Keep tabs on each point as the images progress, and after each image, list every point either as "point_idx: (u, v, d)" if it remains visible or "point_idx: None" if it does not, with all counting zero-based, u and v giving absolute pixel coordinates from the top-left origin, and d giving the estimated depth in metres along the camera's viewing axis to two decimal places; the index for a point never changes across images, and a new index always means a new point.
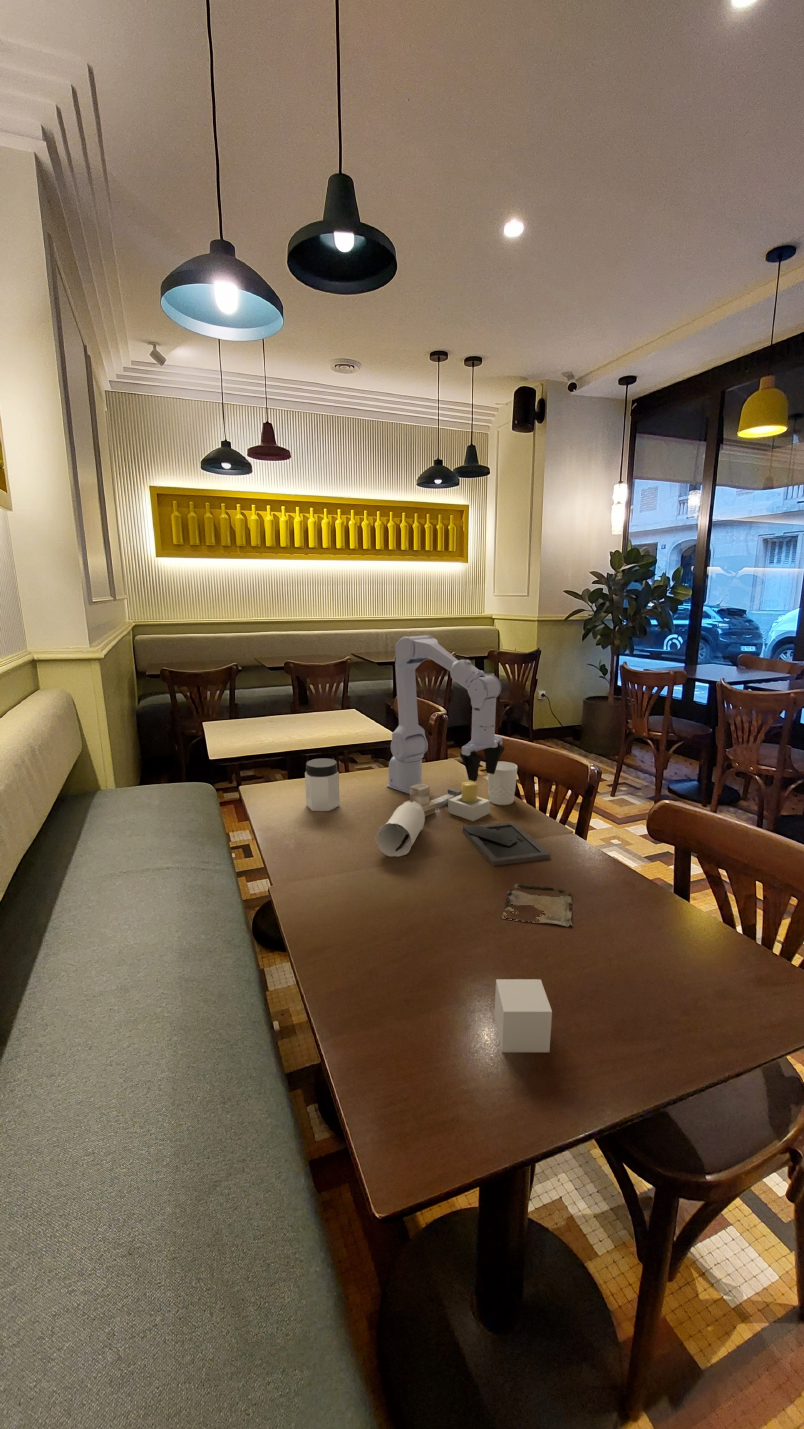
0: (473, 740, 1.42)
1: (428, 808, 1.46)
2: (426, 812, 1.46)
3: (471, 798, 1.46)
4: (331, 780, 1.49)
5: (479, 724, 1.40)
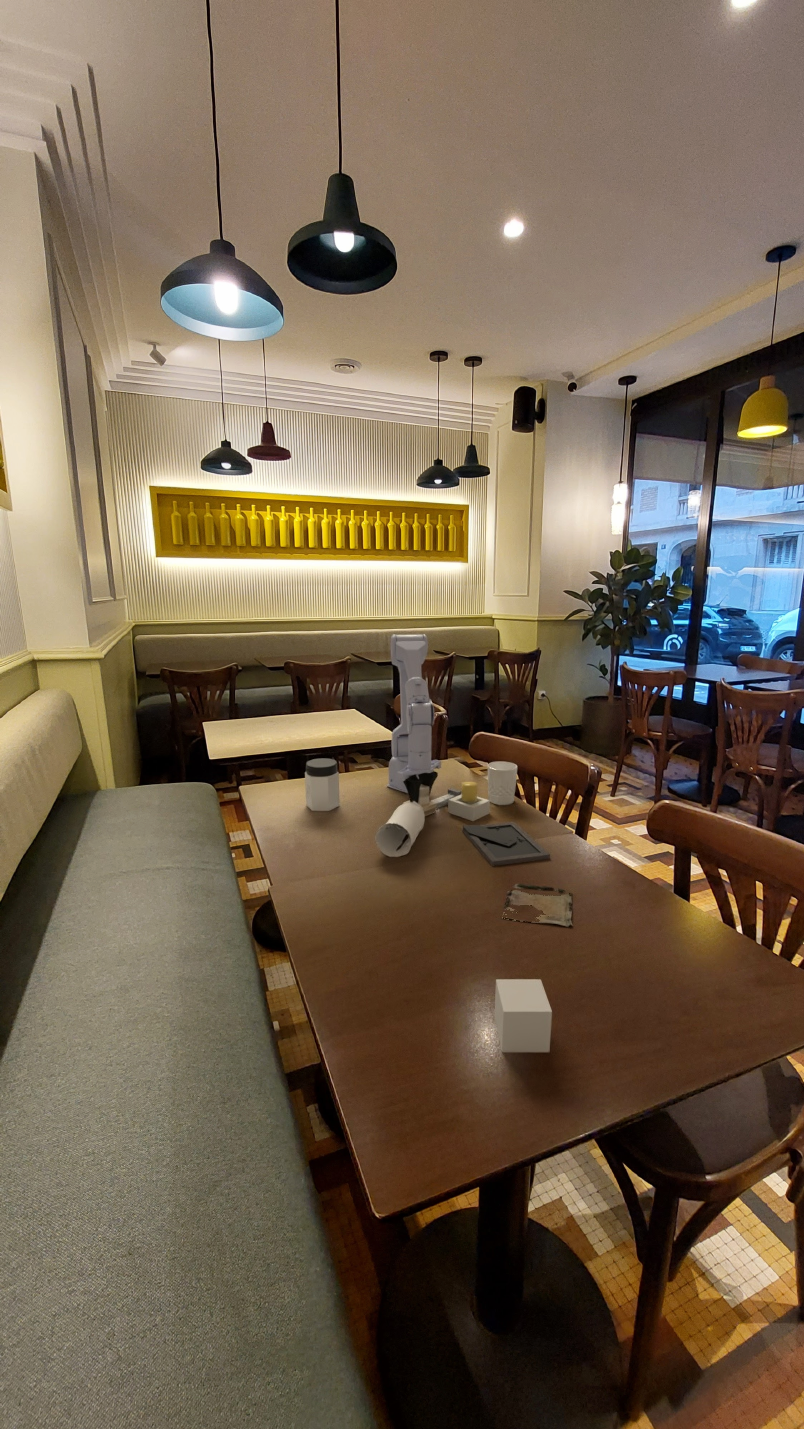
0: (410, 765, 1.44)
1: (428, 808, 1.46)
2: (426, 812, 1.46)
3: (471, 798, 1.46)
4: (331, 780, 1.49)
5: (409, 748, 1.43)
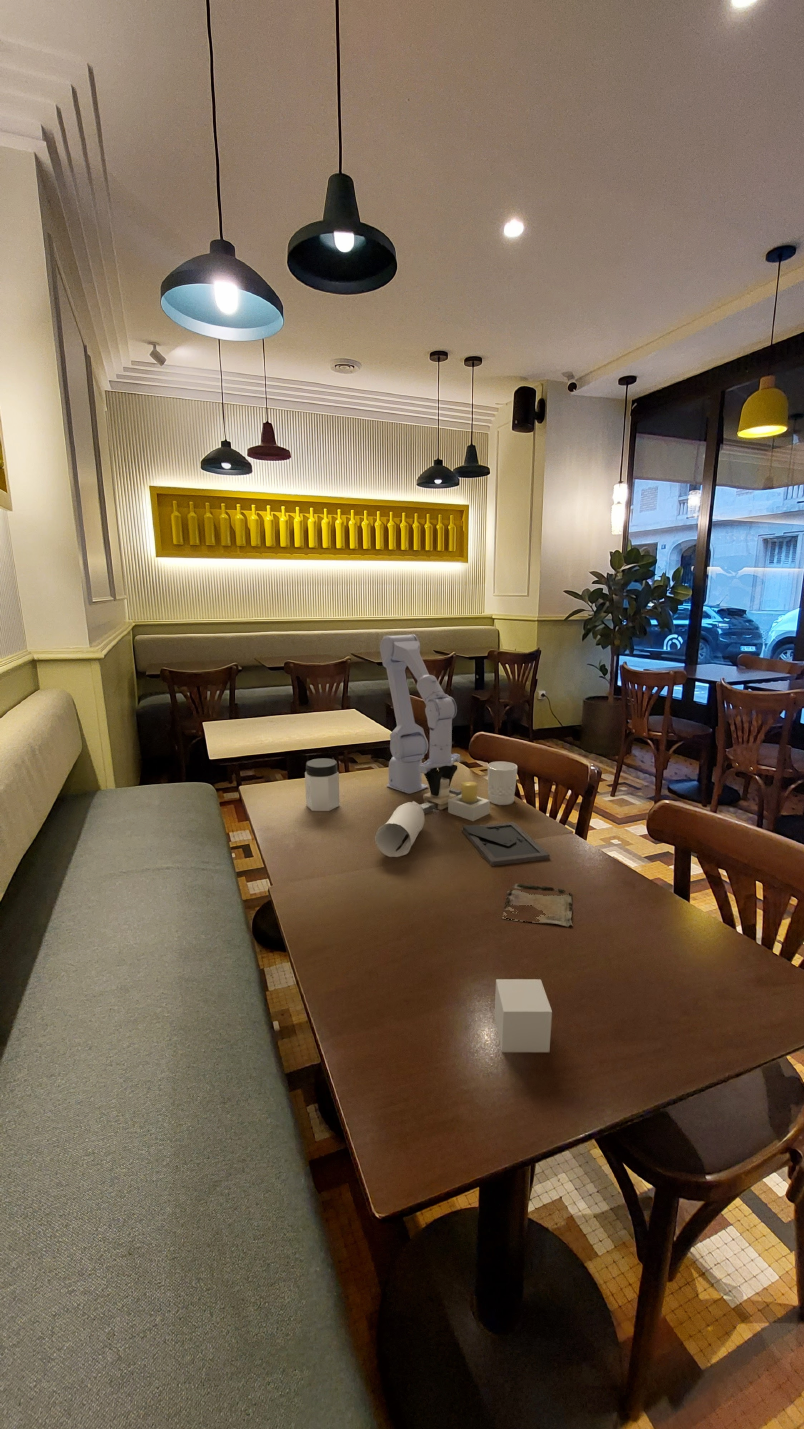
0: (431, 758, 1.50)
1: None
2: (446, 804, 1.51)
3: (471, 798, 1.46)
4: (331, 780, 1.49)
5: (433, 743, 1.48)
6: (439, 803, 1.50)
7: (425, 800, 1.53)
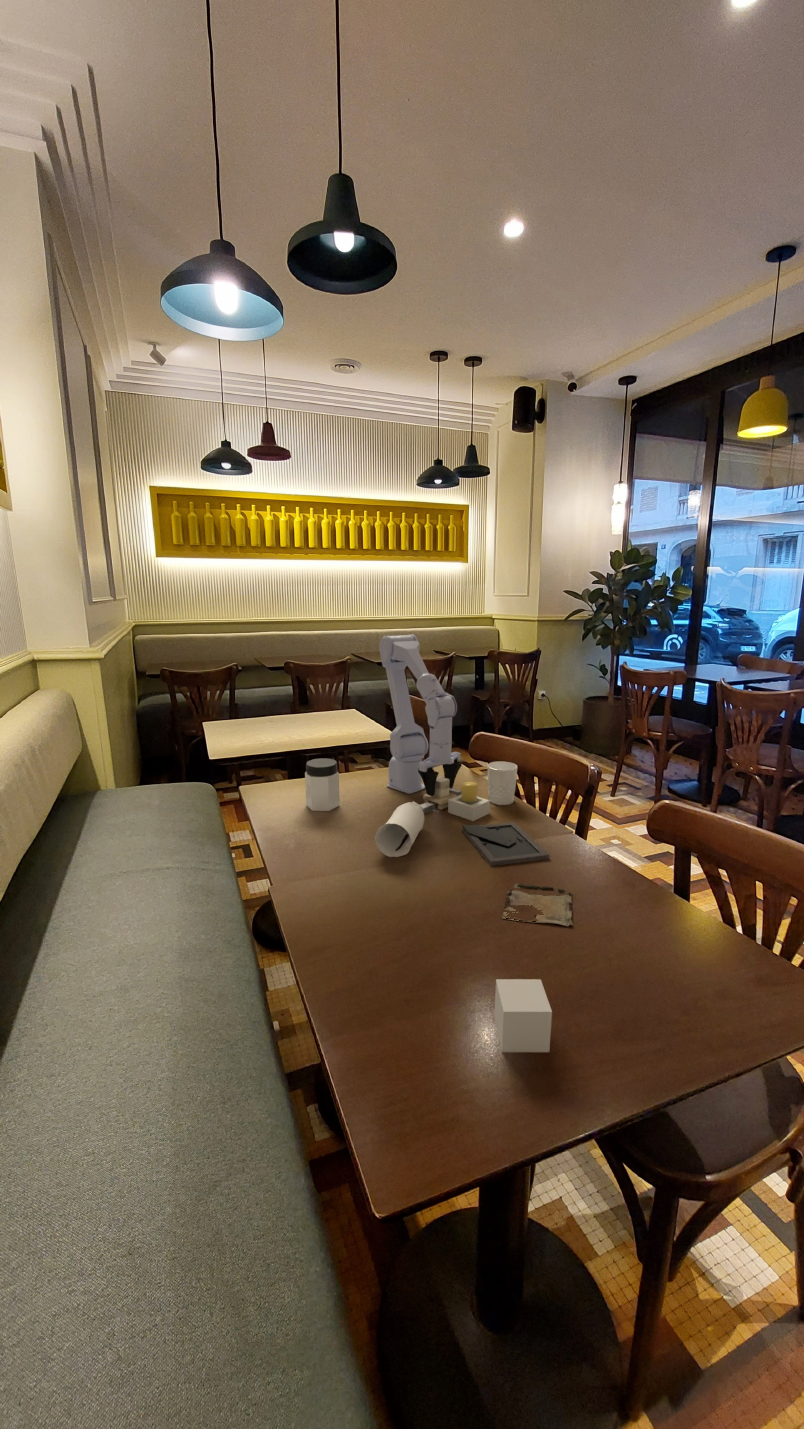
0: (431, 757, 1.49)
1: None
2: (446, 804, 1.51)
3: (471, 798, 1.46)
4: (331, 780, 1.49)
5: (434, 741, 1.48)
6: (439, 803, 1.50)
7: (425, 800, 1.53)
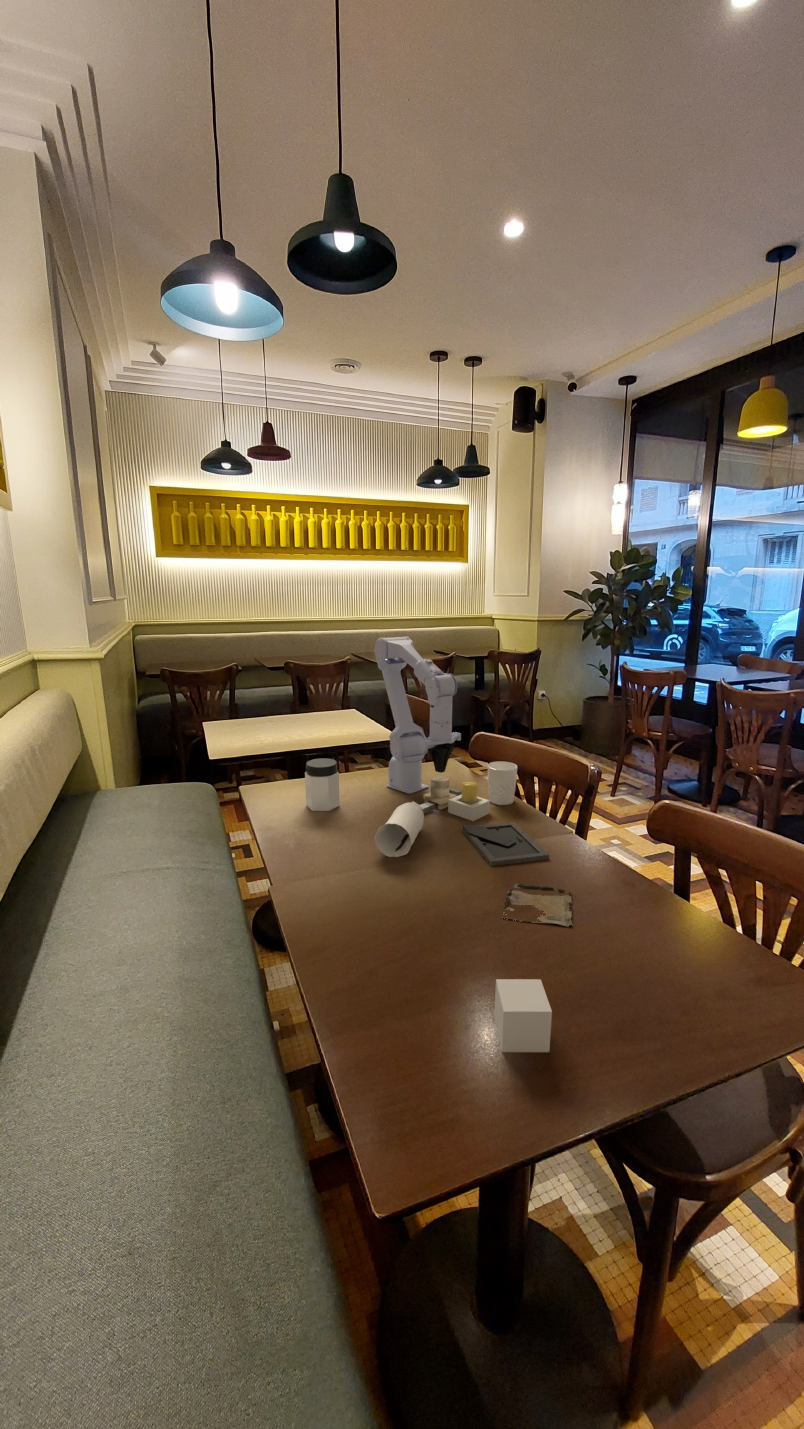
0: (431, 736, 1.48)
1: None
2: (446, 804, 1.51)
3: (471, 798, 1.46)
4: (331, 780, 1.49)
5: (434, 720, 1.47)
6: (439, 803, 1.50)
7: (425, 800, 1.53)
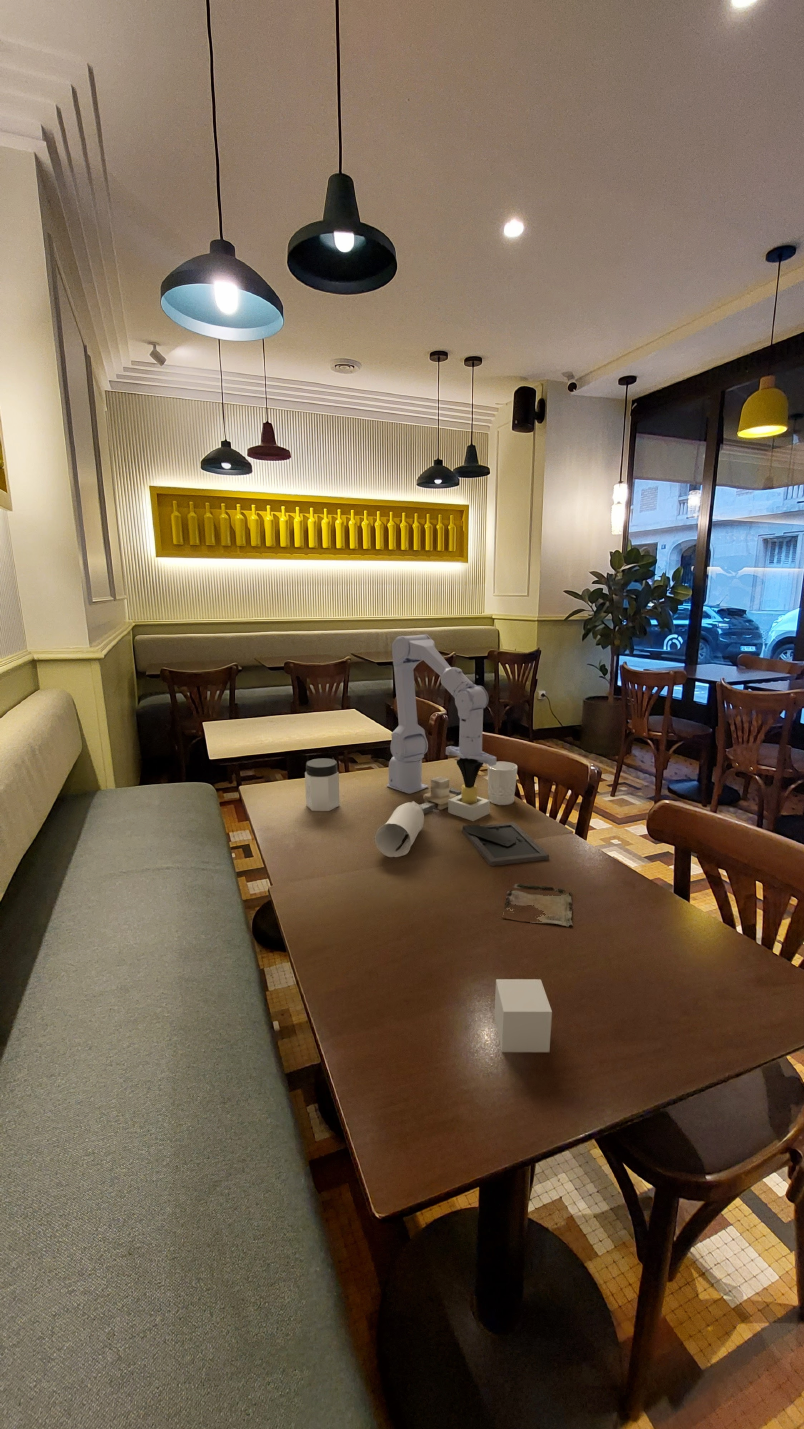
0: None
1: None
2: (446, 804, 1.51)
3: (471, 800, 1.46)
4: (331, 780, 1.49)
5: (465, 735, 1.41)
6: (439, 803, 1.50)
7: (425, 800, 1.53)
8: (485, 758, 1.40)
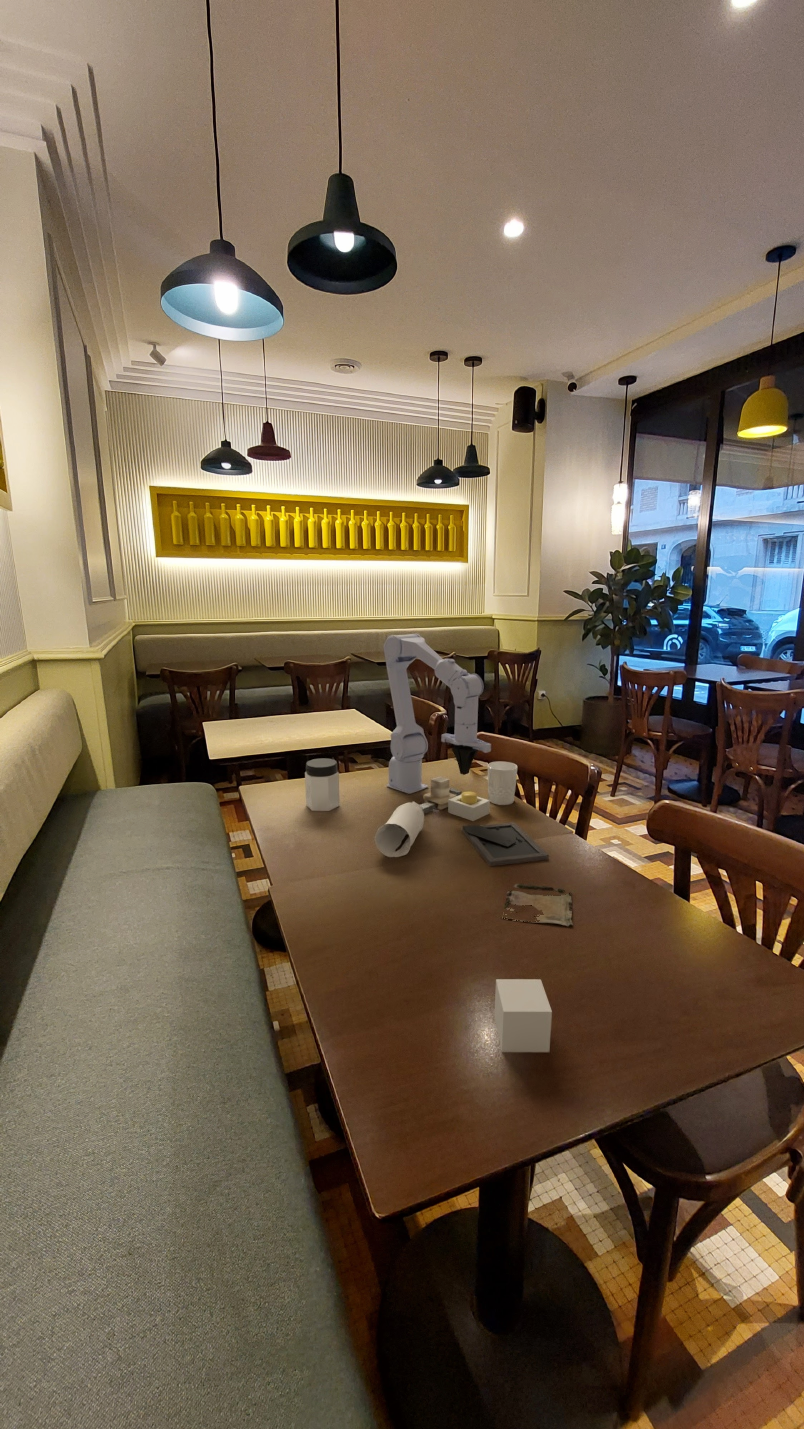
0: None
1: None
2: (446, 804, 1.51)
3: None
4: (331, 780, 1.49)
5: (461, 722, 1.43)
6: (439, 803, 1.50)
7: (425, 800, 1.53)
8: (480, 745, 1.42)
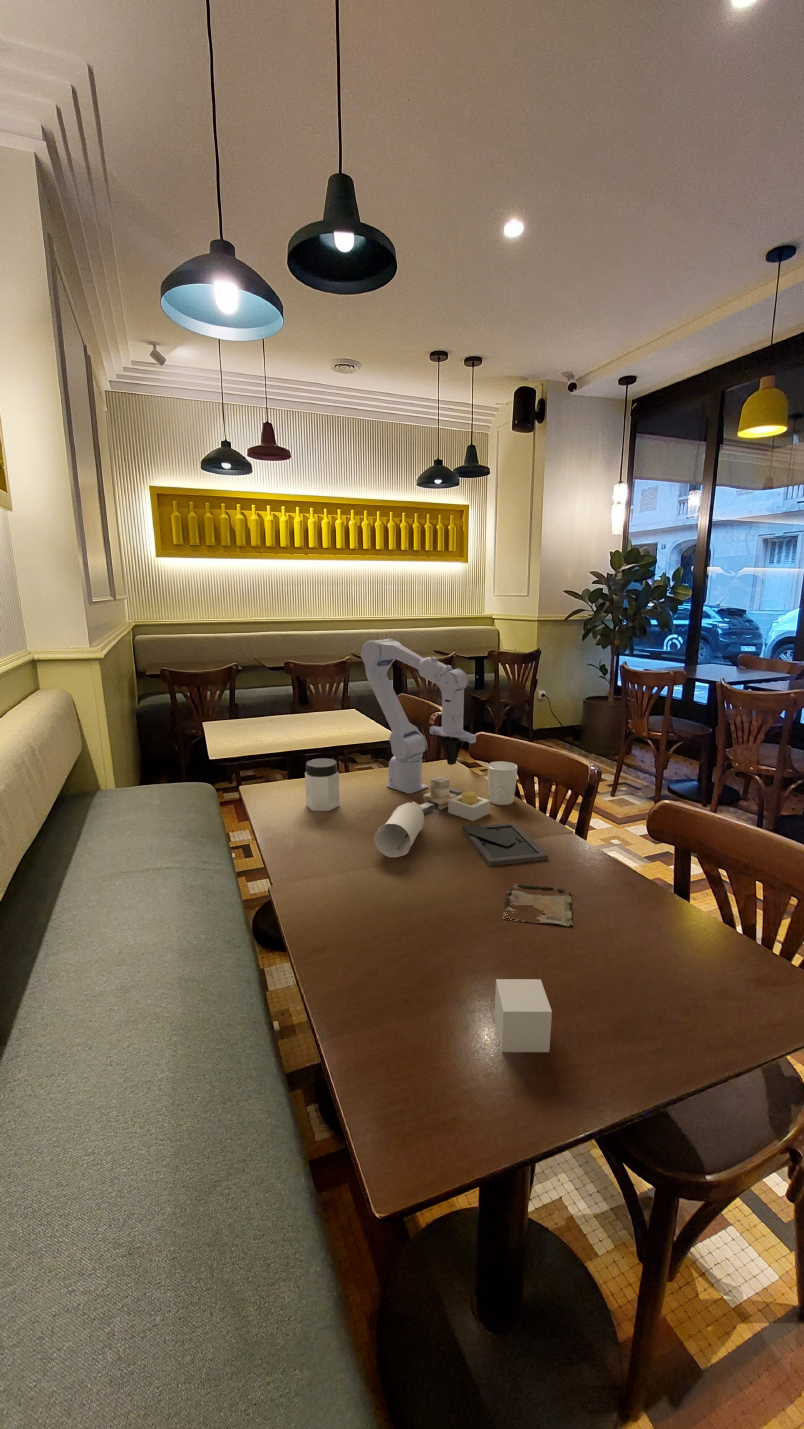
0: None
1: None
2: (446, 804, 1.51)
3: None
4: (331, 780, 1.49)
5: (450, 714, 1.51)
6: (439, 803, 1.50)
7: (425, 800, 1.53)
8: (465, 736, 1.50)
